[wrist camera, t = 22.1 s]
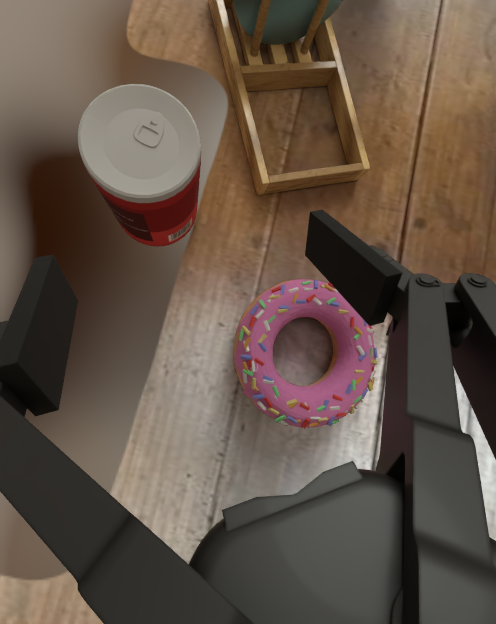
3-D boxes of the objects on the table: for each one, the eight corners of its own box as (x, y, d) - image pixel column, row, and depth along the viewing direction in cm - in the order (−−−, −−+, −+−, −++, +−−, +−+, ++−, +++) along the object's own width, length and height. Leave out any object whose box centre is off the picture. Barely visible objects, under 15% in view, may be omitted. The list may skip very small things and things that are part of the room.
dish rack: (357, 180, 35) (455, 90, 22) (256, 195, 32) (302, 102, 19) (310, 1, 35) (378, -187, 23) (207, 1, 33) (220, -212, 20)
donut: (324, 264, 33) (348, 252, 28) (376, 380, 33) (409, 388, 28) (206, 316, 30) (210, 312, 25) (264, 444, 30) (278, 465, 25)
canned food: (202, 182, 31) (209, 100, 20) (190, 255, 30) (191, 210, 19) (125, 164, 29) (89, 66, 19) (111, 241, 29) (64, 183, 18)
